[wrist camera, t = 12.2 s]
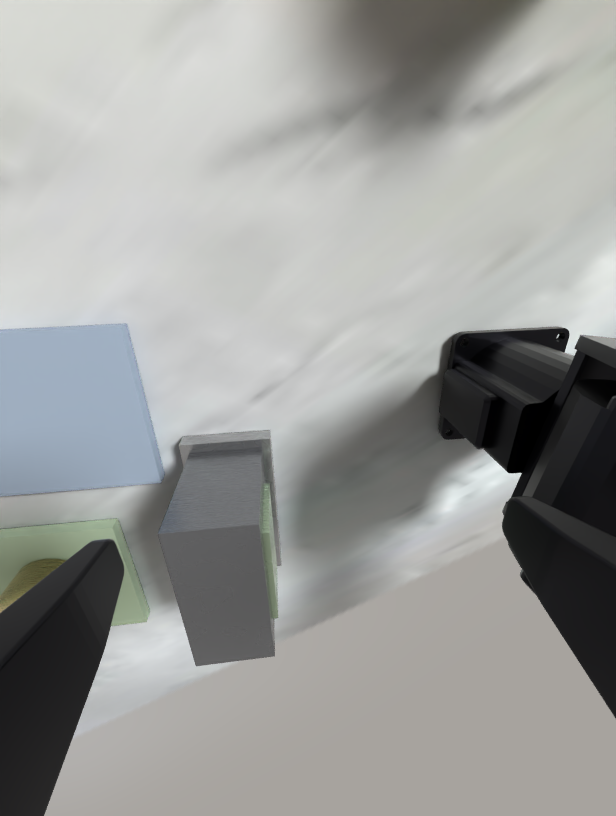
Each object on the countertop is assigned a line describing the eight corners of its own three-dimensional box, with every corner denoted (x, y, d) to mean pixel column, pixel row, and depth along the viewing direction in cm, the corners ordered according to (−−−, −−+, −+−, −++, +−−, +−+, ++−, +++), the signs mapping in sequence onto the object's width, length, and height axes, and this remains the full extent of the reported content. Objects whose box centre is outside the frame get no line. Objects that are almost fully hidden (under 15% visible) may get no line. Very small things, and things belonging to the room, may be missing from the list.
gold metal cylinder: (86, 554, 21) (9, 684, 15) (110, 605, 24) (53, 736, 17) (1, 564, 21) (-112, 700, 15) (34, 614, 23) (-52, 752, 17)
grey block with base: (270, 430, 20) (270, 513, 14) (280, 553, 24) (284, 660, 18) (182, 436, 20) (141, 525, 13) (209, 561, 24) (187, 673, 18)
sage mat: (117, 518, 22) (112, 527, 21) (149, 611, 25) (146, 621, 25) (-36, 532, 21) (-47, 542, 20) (21, 626, 25) (13, 637, 24)
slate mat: (127, 323, 17) (120, 327, 16) (164, 474, 21) (161, 482, 20) (-73, 333, 16) (-89, 337, 15) (5, 487, 20) (-5, 496, 19)
